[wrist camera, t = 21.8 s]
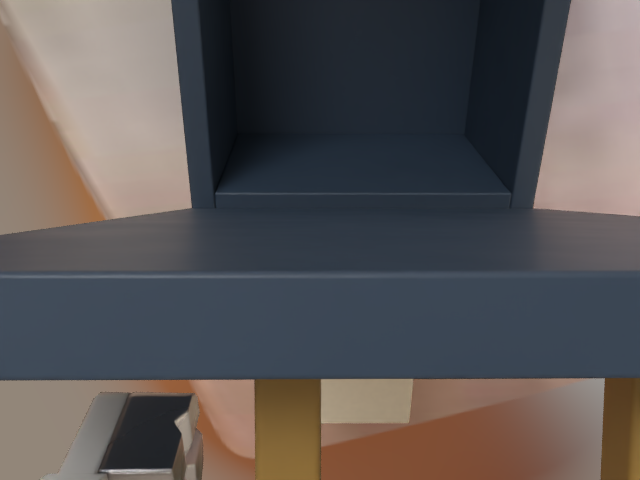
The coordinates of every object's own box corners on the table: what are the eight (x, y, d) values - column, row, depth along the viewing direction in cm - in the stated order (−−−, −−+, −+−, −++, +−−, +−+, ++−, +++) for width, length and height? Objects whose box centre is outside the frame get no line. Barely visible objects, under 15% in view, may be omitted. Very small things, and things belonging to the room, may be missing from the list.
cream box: (310, 261, 30) (310, 312, 26) (405, 261, 30) (420, 312, 26) (310, 364, 33) (310, 424, 28) (397, 363, 33) (409, 423, 28)
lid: (-270, 271, 4) (-220, 871, 4) (1351, 270, 4) (1267, 848, 5) (189, 208, 19) (192, 344, 20) (537, 208, 20) (532, 343, 20)
